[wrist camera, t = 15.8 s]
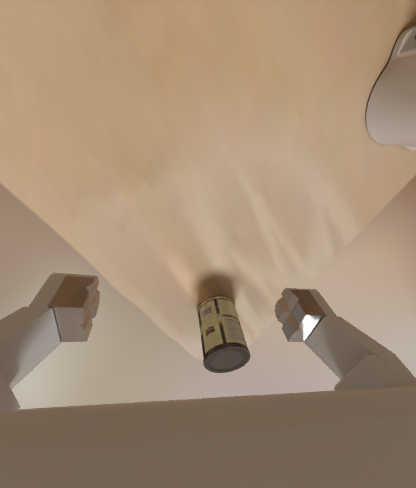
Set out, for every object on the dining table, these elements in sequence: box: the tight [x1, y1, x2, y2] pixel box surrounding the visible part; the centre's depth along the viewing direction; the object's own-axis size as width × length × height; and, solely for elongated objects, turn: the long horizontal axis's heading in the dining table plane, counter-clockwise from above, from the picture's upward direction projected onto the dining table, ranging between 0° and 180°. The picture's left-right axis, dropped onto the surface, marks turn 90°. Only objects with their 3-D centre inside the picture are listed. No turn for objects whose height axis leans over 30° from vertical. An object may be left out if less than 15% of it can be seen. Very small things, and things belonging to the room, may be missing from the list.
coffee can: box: [198, 296, 250, 373], centre depth 54 cm, size 10×10×14 cm
